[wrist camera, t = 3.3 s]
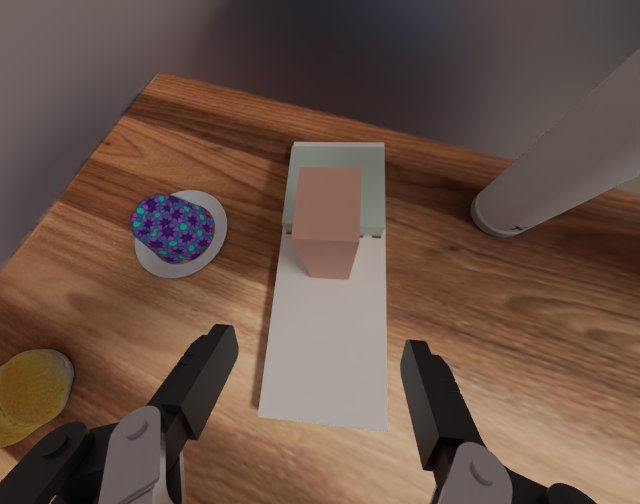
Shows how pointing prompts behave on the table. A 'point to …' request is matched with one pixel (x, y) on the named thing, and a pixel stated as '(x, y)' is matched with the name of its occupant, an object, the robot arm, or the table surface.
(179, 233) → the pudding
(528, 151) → the travel mug
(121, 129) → the table surface
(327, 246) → the stub
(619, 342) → the table surface
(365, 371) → the ticket board
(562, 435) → the table surface
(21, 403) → the bread roll
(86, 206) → the table surface
